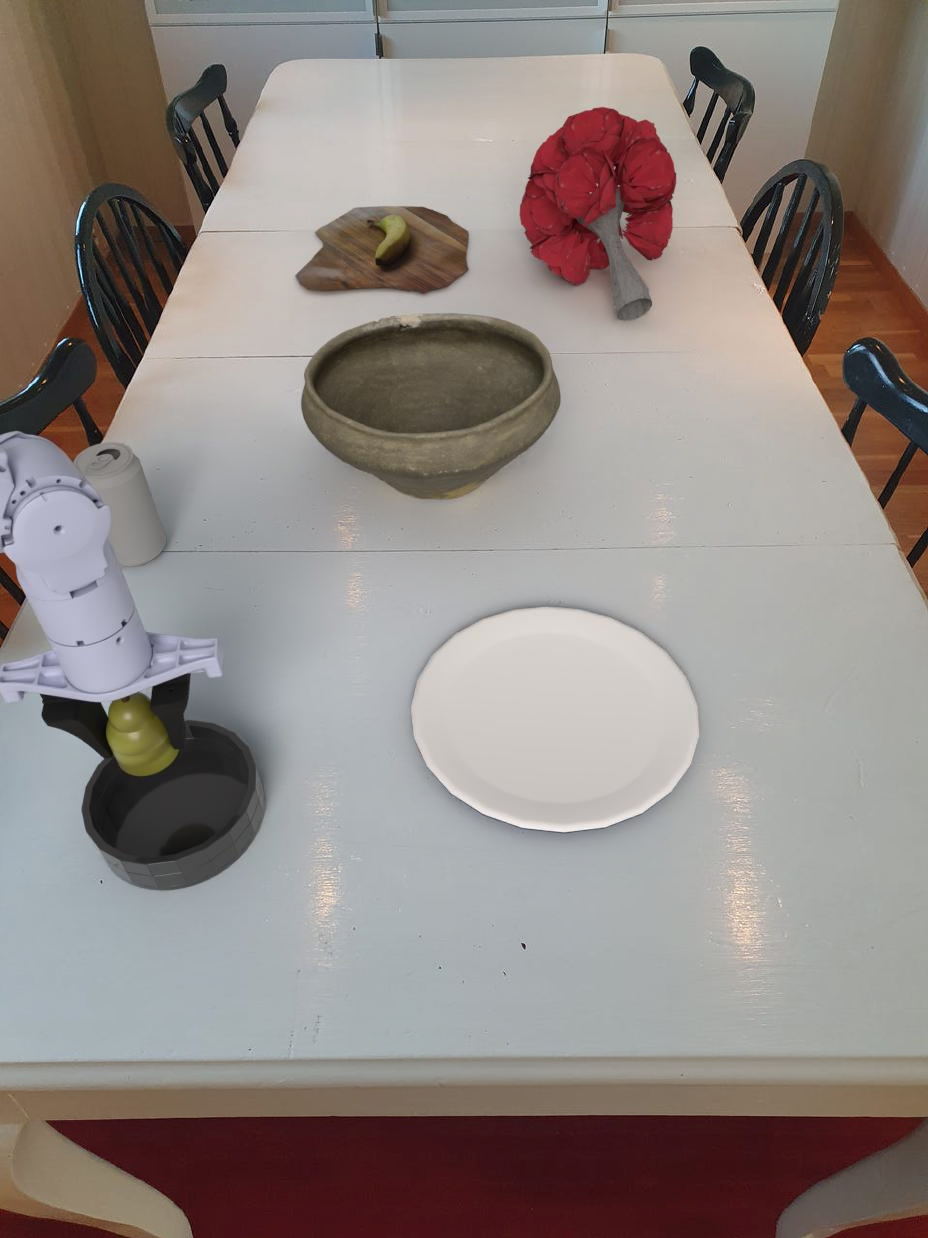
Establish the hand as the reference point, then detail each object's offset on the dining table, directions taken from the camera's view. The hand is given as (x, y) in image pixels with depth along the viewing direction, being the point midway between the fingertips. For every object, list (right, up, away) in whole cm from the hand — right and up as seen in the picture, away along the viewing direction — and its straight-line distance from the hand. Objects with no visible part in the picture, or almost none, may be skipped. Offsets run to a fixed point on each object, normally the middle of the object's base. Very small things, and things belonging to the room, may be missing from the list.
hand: (145, 743), depth 68 cm
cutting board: (+11, +70, +81) cm, 108 cm away
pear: (0, -1, +1) cm, 1 cm away
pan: (+1, -7, +5) cm, 8 cm away
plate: (+32, +1, +12) cm, 34 cm away
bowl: (+20, +26, +38) cm, 50 cm away
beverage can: (-11, +16, +29) cm, 35 cm away
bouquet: (+44, +61, +71) cm, 103 cm away
